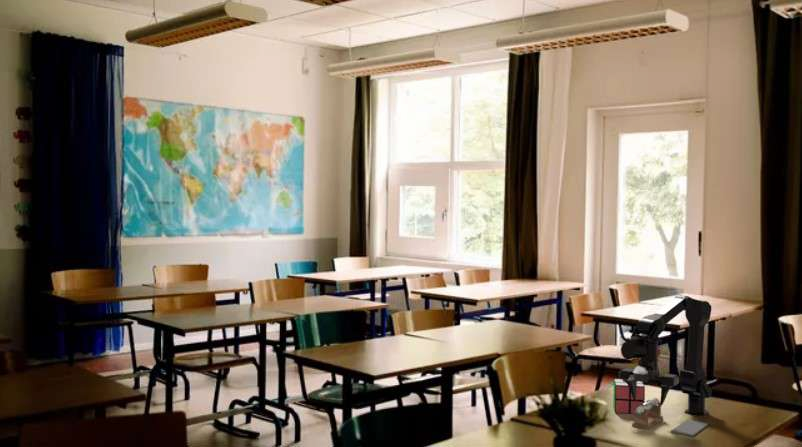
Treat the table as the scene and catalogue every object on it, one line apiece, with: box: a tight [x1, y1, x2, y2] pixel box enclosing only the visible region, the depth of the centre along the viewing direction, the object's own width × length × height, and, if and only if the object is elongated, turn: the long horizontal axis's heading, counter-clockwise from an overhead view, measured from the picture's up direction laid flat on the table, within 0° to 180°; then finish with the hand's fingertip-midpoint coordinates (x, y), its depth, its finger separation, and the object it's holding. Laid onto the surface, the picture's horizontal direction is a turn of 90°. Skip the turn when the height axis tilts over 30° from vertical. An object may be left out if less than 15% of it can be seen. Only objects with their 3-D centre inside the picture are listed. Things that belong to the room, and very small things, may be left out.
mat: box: [670, 419, 709, 438], centre depth 257 cm, size 16×7×1 cm, turn 142°
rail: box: [636, 397, 660, 414], centre depth 264 cm, size 15×2×2 cm, turn 142°
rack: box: [631, 399, 664, 430], centre depth 264 cm, size 15×5×6 cm, turn 142°
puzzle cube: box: [612, 378, 646, 415], centre depth 279 cm, size 10×10×10 cm
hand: (648, 402), depth 264 cm, fingers open, 9 cm apart
